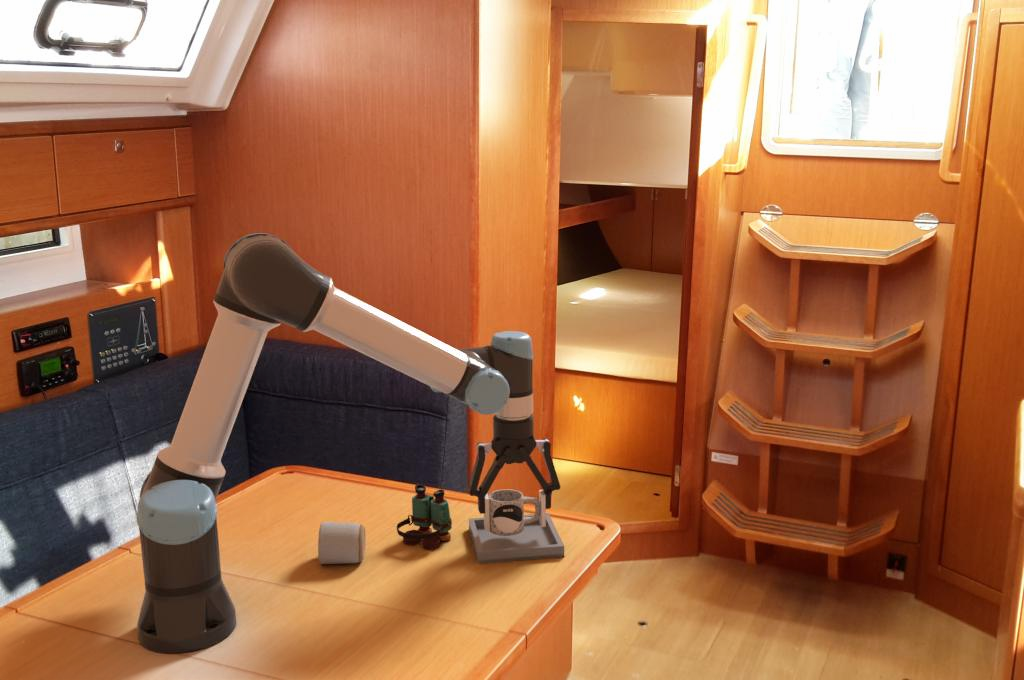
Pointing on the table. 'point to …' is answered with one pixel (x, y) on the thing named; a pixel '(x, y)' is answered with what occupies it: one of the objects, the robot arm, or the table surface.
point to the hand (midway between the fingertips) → (514, 526)
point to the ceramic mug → (341, 543)
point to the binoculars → (427, 519)
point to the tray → (516, 542)
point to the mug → (510, 512)
